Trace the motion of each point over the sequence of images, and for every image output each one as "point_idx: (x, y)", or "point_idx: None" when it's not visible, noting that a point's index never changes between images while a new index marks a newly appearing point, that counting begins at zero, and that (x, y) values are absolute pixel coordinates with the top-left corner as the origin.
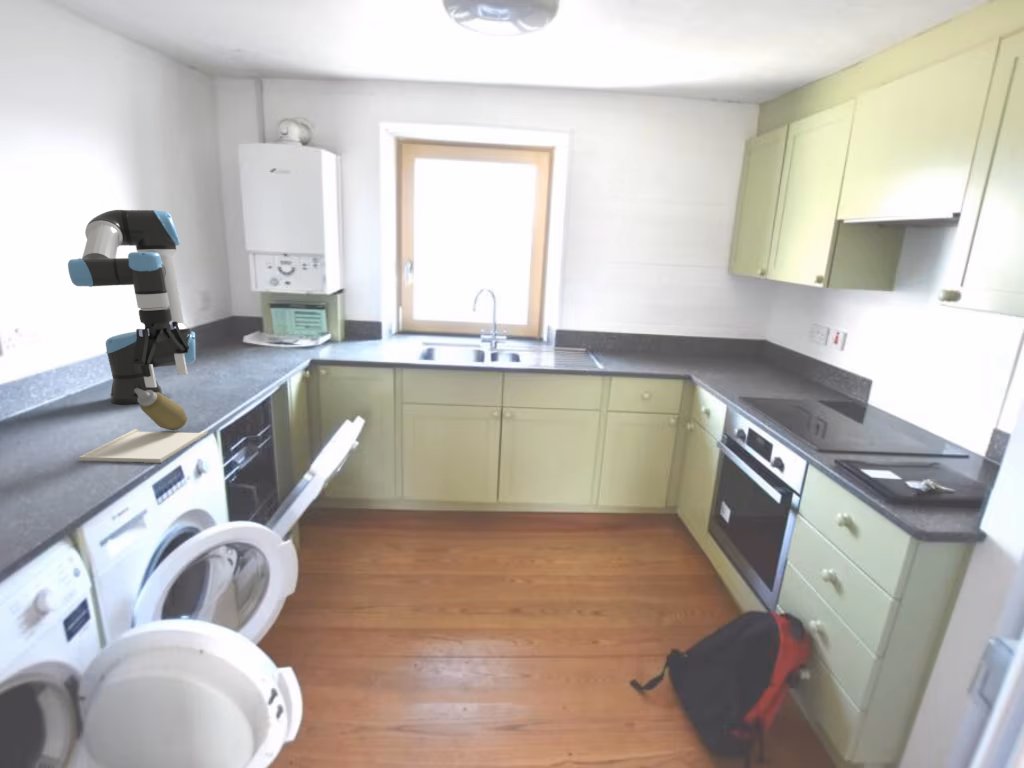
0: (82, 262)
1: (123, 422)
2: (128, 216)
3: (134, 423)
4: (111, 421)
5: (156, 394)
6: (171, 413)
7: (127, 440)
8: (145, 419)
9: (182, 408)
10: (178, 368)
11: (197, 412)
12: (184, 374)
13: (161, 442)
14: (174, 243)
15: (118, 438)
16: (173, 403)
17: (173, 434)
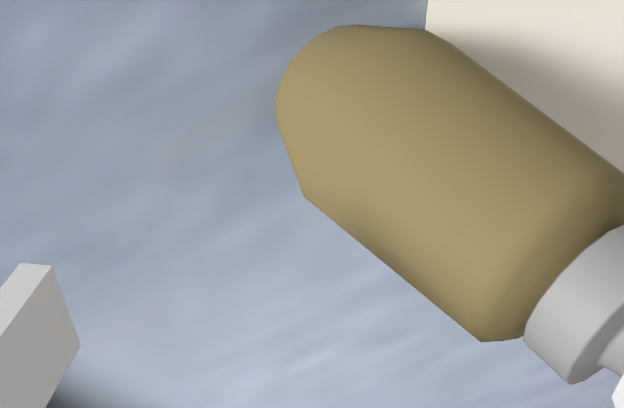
0: None
1: (262, 359)
2: None
3: (268, 318)
4: (256, 397)
5: (569, 270)
6: (497, 82)
7: None
8: (212, 304)
9: (343, 74)
10: (35, 397)
11: (50, 126)
12: (56, 285)
13: (614, 28)
14: None
15: None
16: (436, 123)
17: (462, 37)
